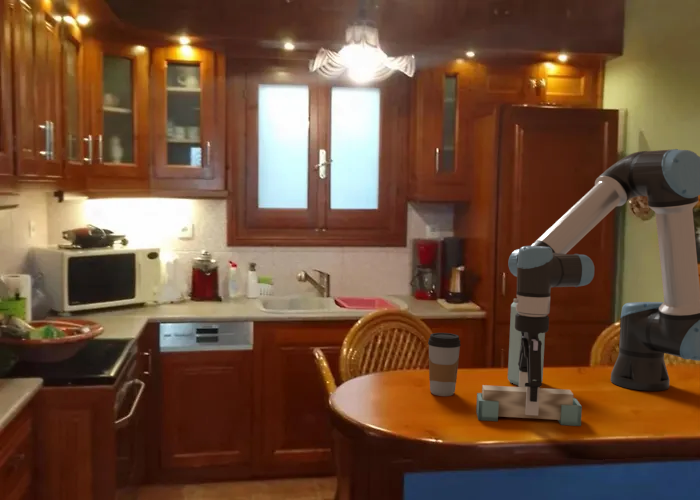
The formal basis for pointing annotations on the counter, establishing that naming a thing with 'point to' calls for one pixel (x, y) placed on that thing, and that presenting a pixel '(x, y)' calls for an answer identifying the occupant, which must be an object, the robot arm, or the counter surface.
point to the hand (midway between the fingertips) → (527, 406)
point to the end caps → (490, 408)
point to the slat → (515, 401)
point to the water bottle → (518, 349)
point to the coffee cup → (443, 363)
